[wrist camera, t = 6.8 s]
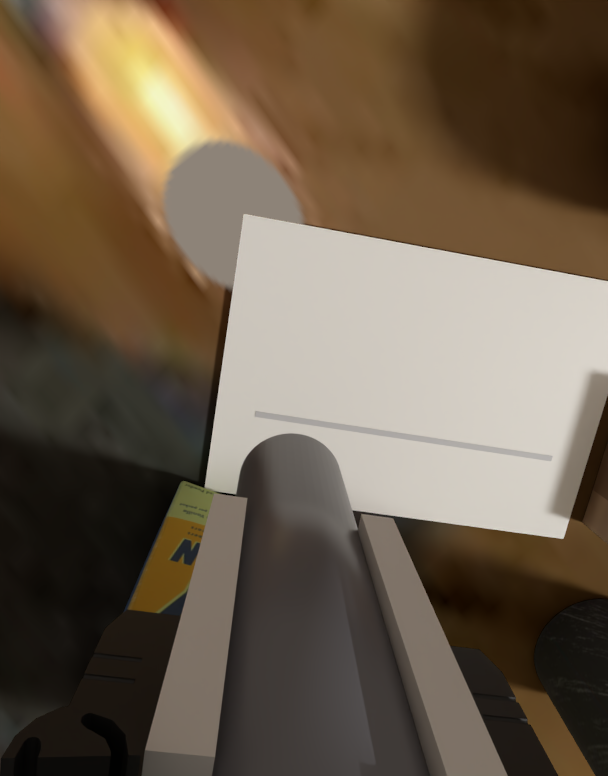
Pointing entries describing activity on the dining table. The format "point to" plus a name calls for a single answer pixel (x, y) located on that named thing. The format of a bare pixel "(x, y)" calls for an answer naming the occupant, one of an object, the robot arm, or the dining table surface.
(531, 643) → the dining table surface
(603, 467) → the pen holder
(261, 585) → the marker
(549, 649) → the travel mug
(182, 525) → the protein box
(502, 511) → the paper
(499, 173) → the dining table surface
